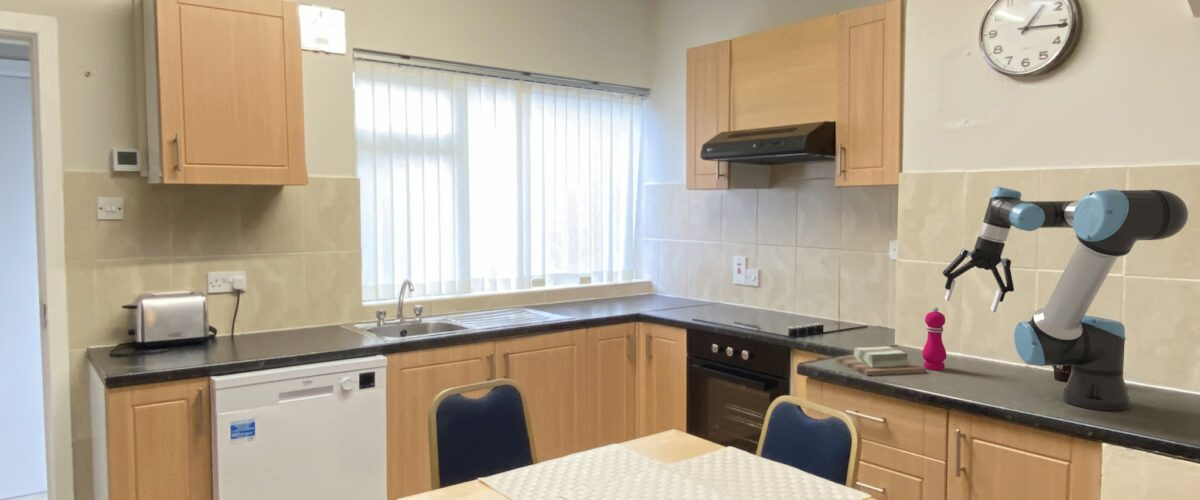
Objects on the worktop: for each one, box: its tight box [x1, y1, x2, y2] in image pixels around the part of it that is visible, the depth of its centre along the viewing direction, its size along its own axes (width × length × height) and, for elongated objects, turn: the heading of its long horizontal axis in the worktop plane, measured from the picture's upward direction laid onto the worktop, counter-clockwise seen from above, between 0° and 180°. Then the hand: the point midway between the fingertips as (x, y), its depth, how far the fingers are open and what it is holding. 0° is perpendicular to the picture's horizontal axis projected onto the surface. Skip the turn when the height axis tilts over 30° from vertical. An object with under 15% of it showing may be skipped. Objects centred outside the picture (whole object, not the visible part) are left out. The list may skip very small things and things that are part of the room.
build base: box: [836, 345, 927, 377], centre depth 247 cm, size 20×20×6 cm
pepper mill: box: [921, 306, 948, 371], centre depth 244 cm, size 7×7×20 cm
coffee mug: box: [1051, 365, 1072, 383], centre depth 230 cm, size 12×9×10 cm
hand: (969, 305), depth 231 cm, fingers open, 13 cm apart
